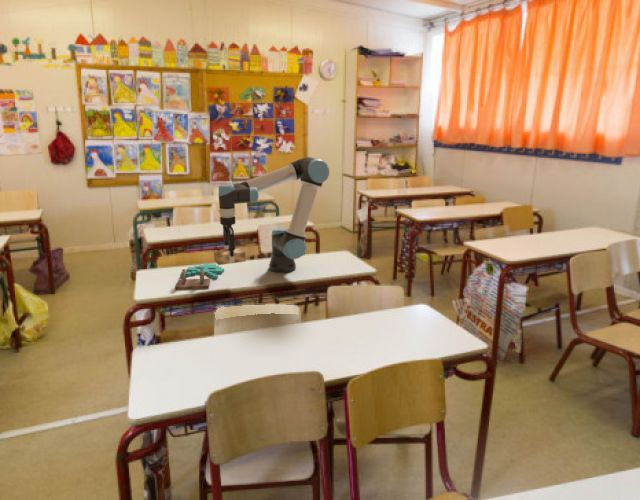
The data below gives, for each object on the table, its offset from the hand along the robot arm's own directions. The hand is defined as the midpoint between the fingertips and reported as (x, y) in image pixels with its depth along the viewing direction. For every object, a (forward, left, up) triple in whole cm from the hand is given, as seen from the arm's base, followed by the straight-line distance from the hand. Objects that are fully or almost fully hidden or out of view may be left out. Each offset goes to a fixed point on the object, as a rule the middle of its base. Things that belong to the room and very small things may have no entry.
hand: (229, 259), depth 247 cm
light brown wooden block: (0, 0, -1) cm, 1 cm away
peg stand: (+19, 0, -13) cm, 23 cm away
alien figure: (+15, -20, -14) cm, 28 cm away
